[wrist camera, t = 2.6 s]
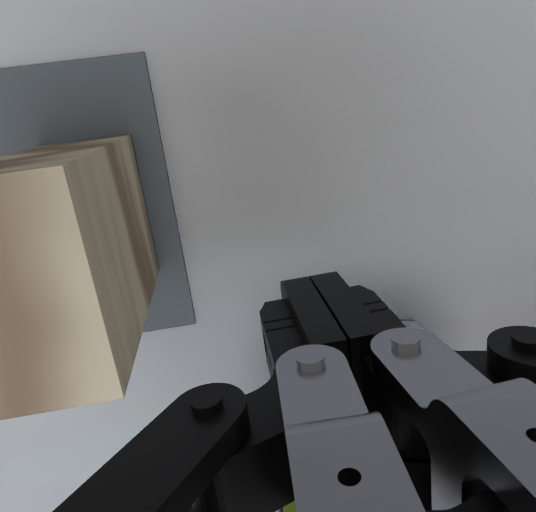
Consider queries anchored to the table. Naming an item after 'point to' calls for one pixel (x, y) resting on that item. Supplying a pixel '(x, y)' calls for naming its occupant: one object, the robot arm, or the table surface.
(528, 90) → the table surface
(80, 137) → the mat
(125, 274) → the block
